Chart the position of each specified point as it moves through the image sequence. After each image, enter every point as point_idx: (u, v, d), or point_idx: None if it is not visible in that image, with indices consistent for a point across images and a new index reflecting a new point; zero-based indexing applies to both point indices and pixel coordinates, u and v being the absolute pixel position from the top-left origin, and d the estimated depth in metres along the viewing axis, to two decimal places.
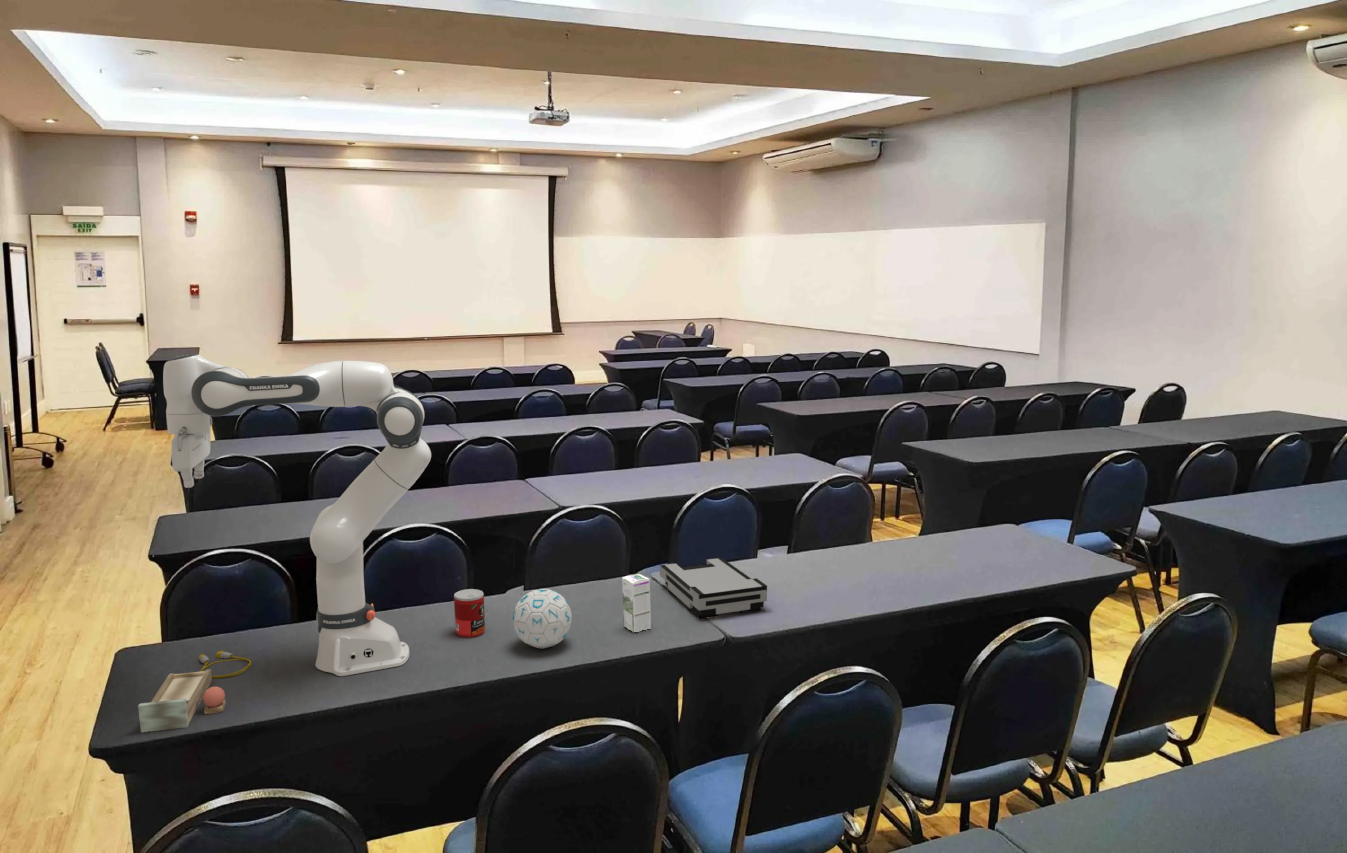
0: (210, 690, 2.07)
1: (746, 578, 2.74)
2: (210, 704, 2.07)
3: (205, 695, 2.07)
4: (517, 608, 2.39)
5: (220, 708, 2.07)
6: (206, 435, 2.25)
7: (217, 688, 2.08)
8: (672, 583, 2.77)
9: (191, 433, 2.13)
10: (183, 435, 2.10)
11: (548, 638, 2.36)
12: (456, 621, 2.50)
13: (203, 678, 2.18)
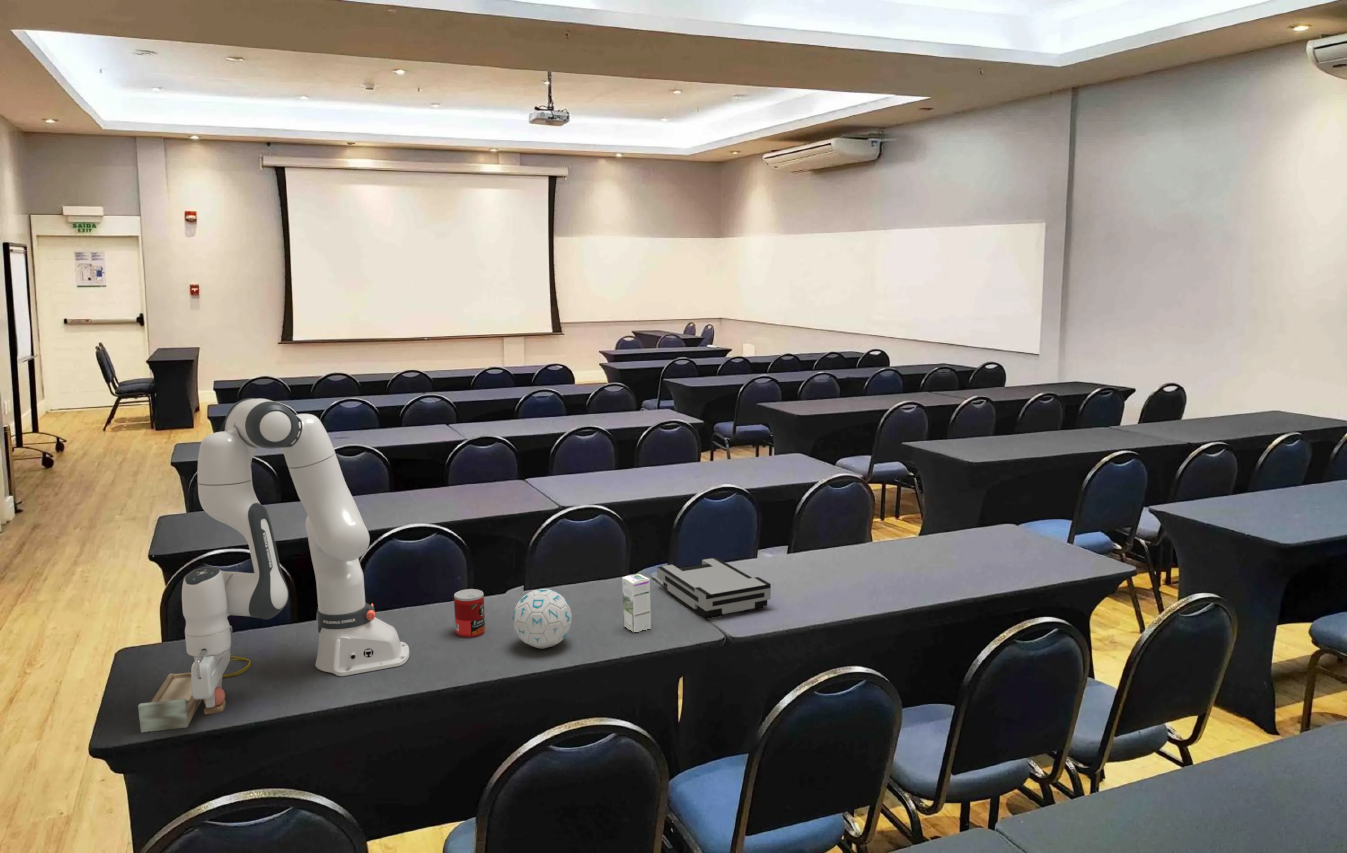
0: None
1: (747, 577, 2.75)
2: None
3: None
4: (517, 608, 2.39)
5: (220, 708, 2.07)
6: None
7: (217, 688, 2.08)
8: (672, 584, 2.76)
9: (211, 654, 2.03)
10: (203, 660, 2.00)
11: (548, 638, 2.36)
12: (456, 621, 2.50)
13: None
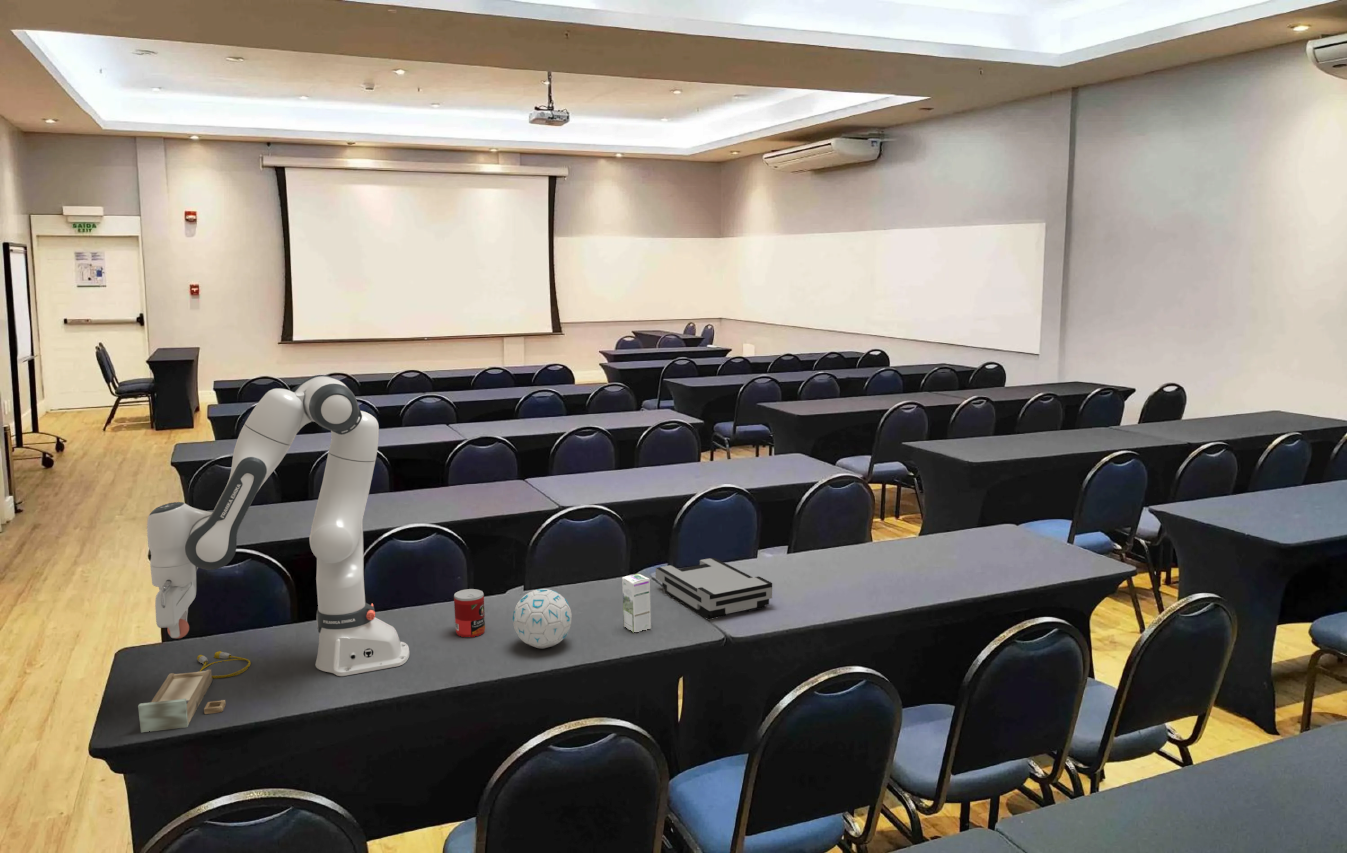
0: None
1: (747, 576, 2.76)
2: None
3: None
4: (517, 608, 2.39)
5: (220, 708, 2.07)
6: None
7: (181, 620, 2.14)
8: (673, 585, 2.75)
9: (176, 585, 2.09)
10: (167, 590, 2.06)
11: (548, 638, 2.36)
12: (456, 621, 2.50)
13: (203, 678, 2.18)
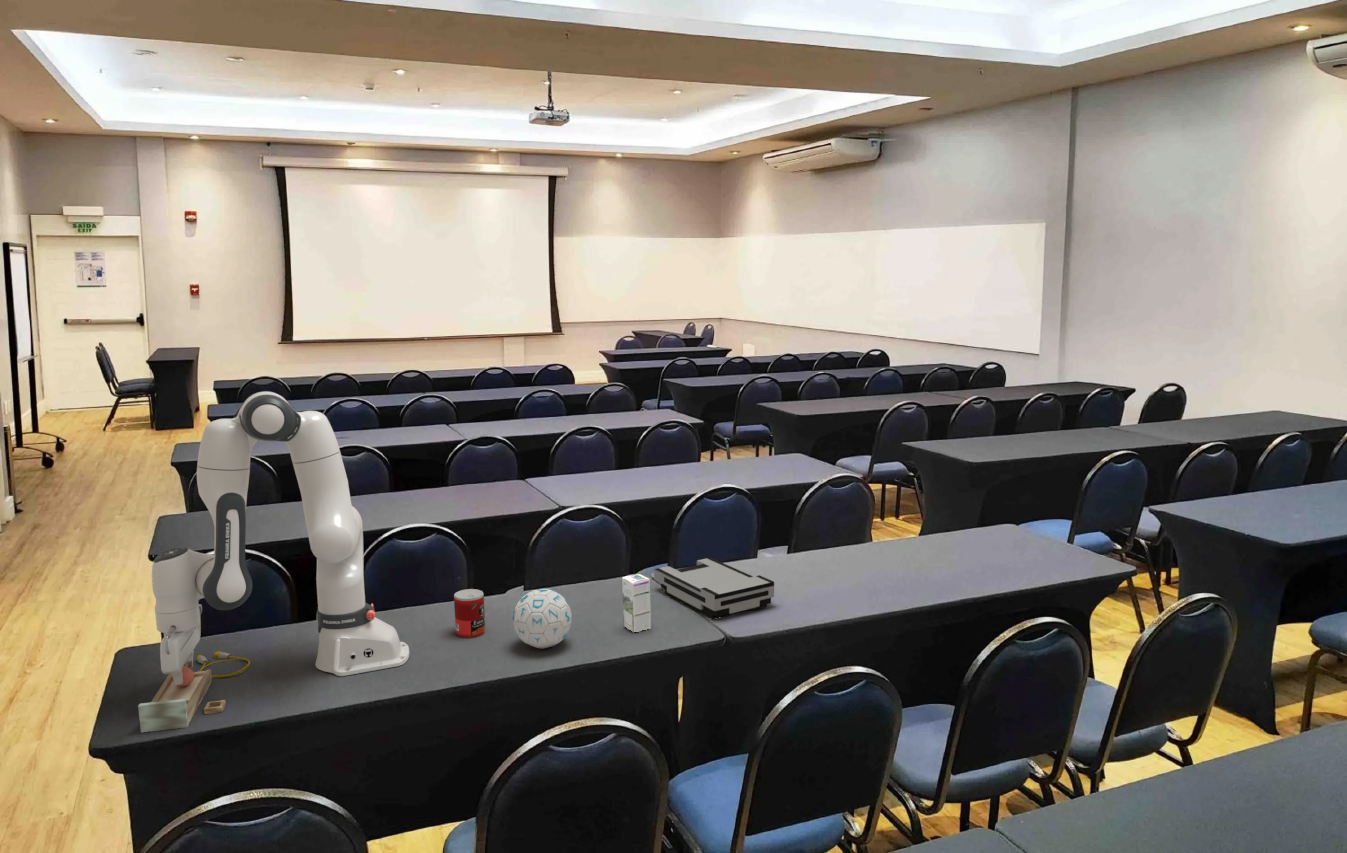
0: None
1: (747, 576, 2.76)
2: None
3: None
4: (517, 608, 2.39)
5: (220, 708, 2.07)
6: None
7: (186, 669, 2.16)
8: (673, 585, 2.74)
9: (180, 631, 2.11)
10: (172, 636, 2.08)
11: (548, 638, 2.36)
12: (456, 621, 2.50)
13: (203, 678, 2.18)
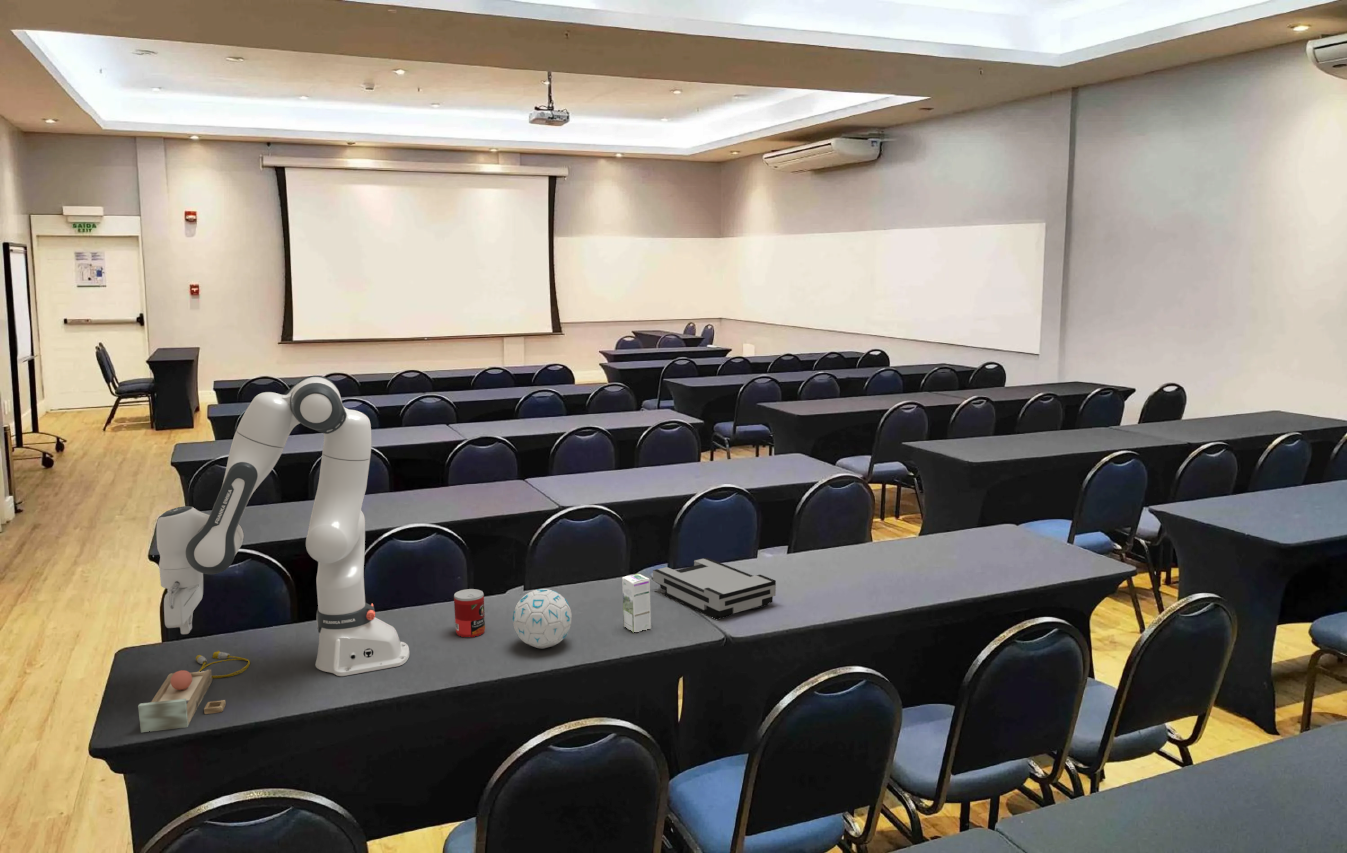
0: (177, 682, 2.12)
1: (747, 575, 2.77)
2: None
3: (173, 684, 2.13)
4: (517, 608, 2.39)
5: (220, 708, 2.07)
6: None
7: (183, 678, 2.13)
8: (674, 586, 2.74)
9: (184, 587, 2.15)
10: (176, 591, 2.12)
11: (548, 638, 2.36)
12: (456, 621, 2.50)
13: (203, 678, 2.18)
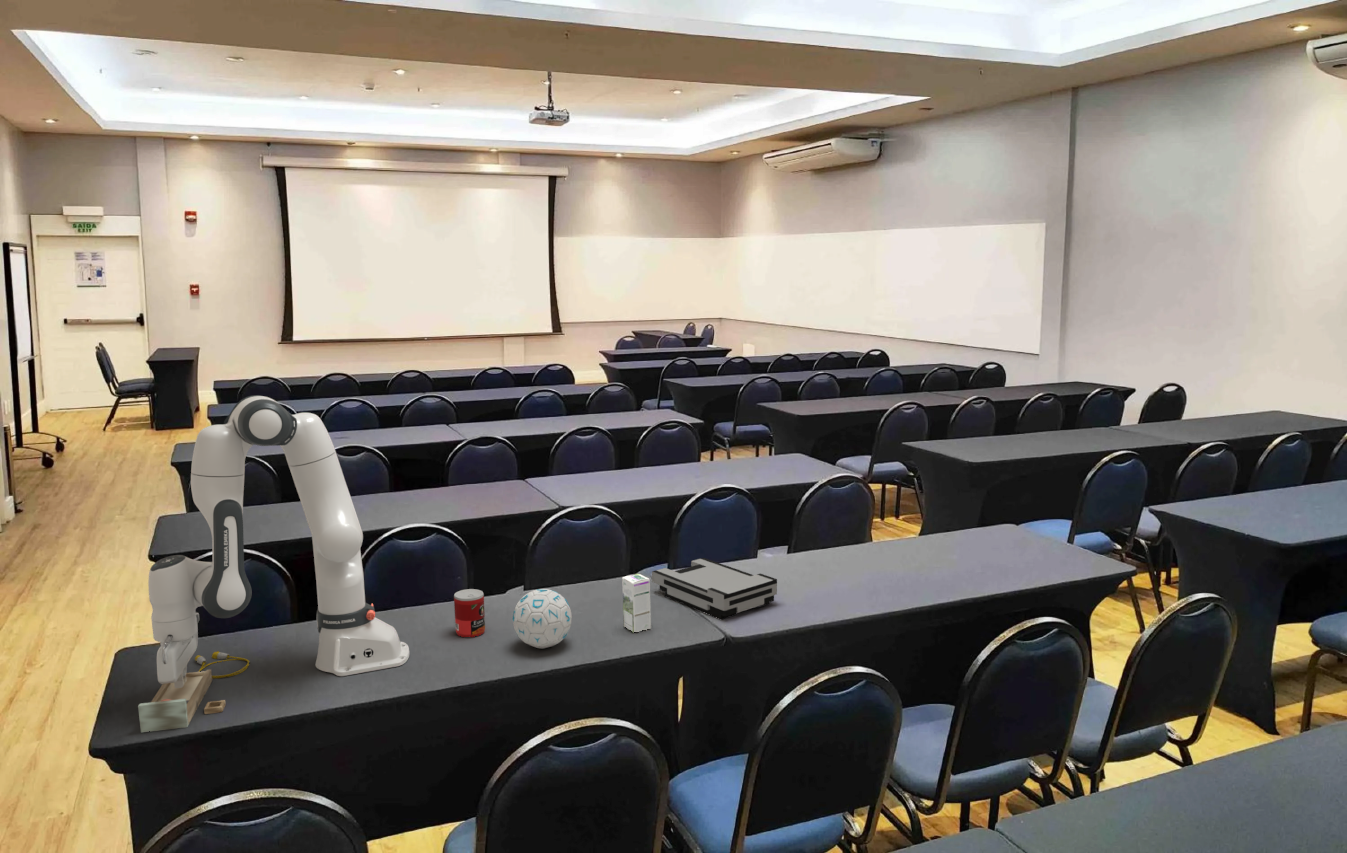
0: None
1: (747, 574, 2.77)
2: None
3: None
4: (517, 608, 2.39)
5: (220, 708, 2.07)
6: None
7: None
8: (675, 587, 2.73)
9: (177, 640, 2.08)
10: (169, 645, 2.05)
11: (548, 638, 2.36)
12: (456, 621, 2.50)
13: (203, 678, 2.18)
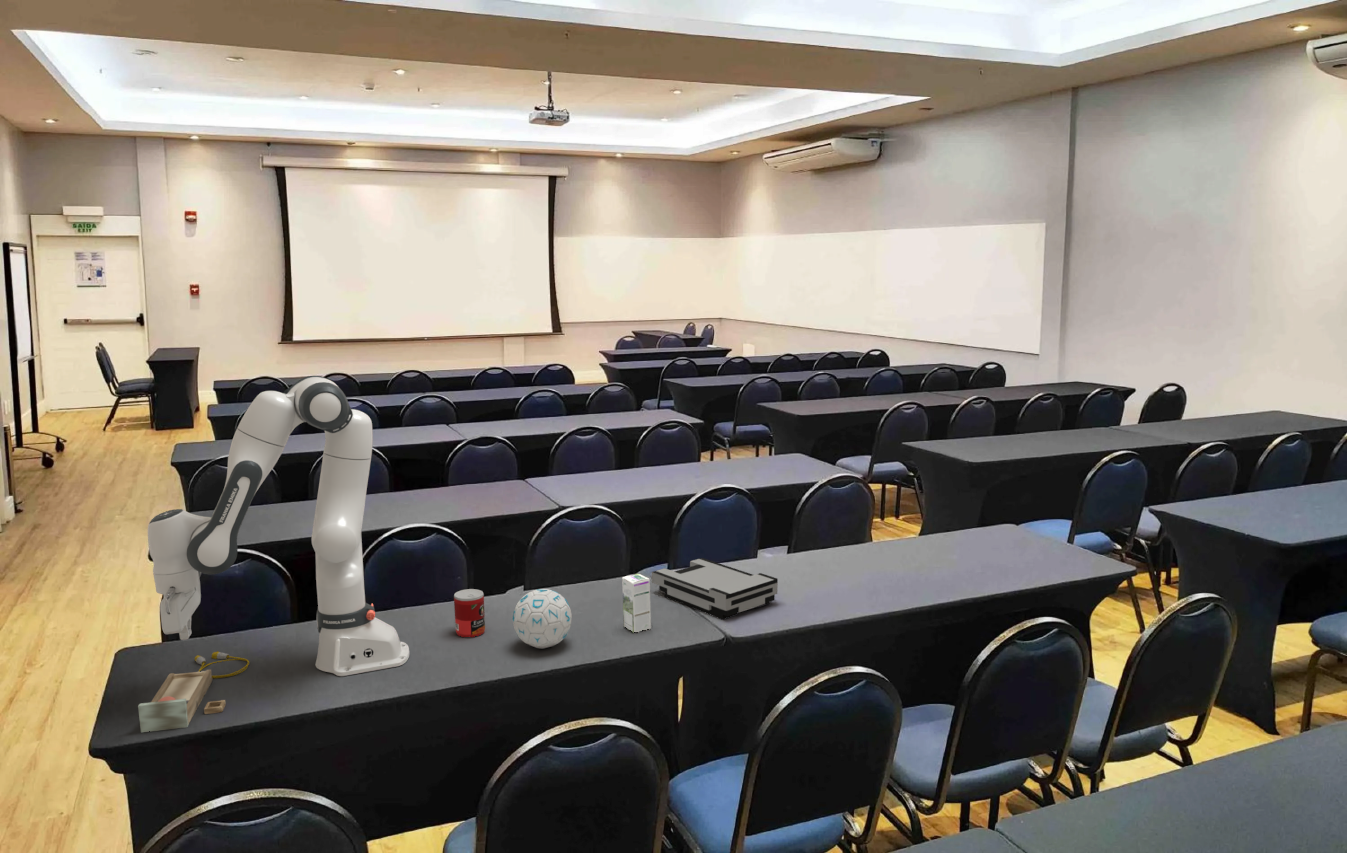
0: None
1: (747, 574, 2.78)
2: None
3: None
4: (517, 608, 2.39)
5: (220, 708, 2.07)
6: None
7: None
8: (675, 587, 2.73)
9: (180, 592, 2.10)
10: (171, 596, 2.07)
11: (548, 638, 2.36)
12: (456, 621, 2.50)
13: (203, 678, 2.18)
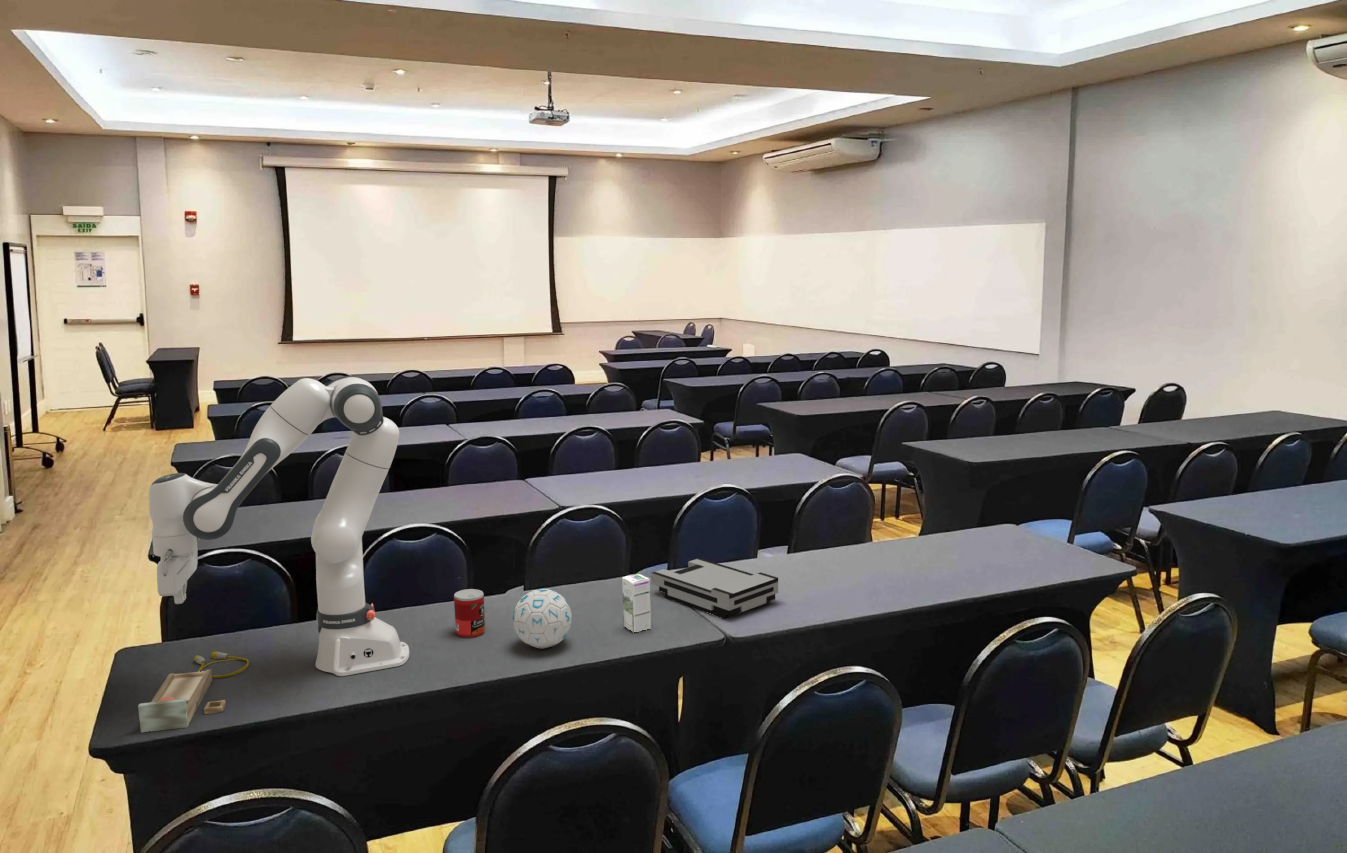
0: (164, 697, 2.05)
1: (746, 574, 2.78)
2: None
3: None
4: (517, 608, 2.39)
5: (220, 708, 2.07)
6: (193, 551, 2.23)
7: None
8: (676, 588, 2.72)
9: (177, 555, 2.11)
10: (169, 559, 2.08)
11: (548, 638, 2.36)
12: (456, 621, 2.50)
13: (203, 678, 2.18)
